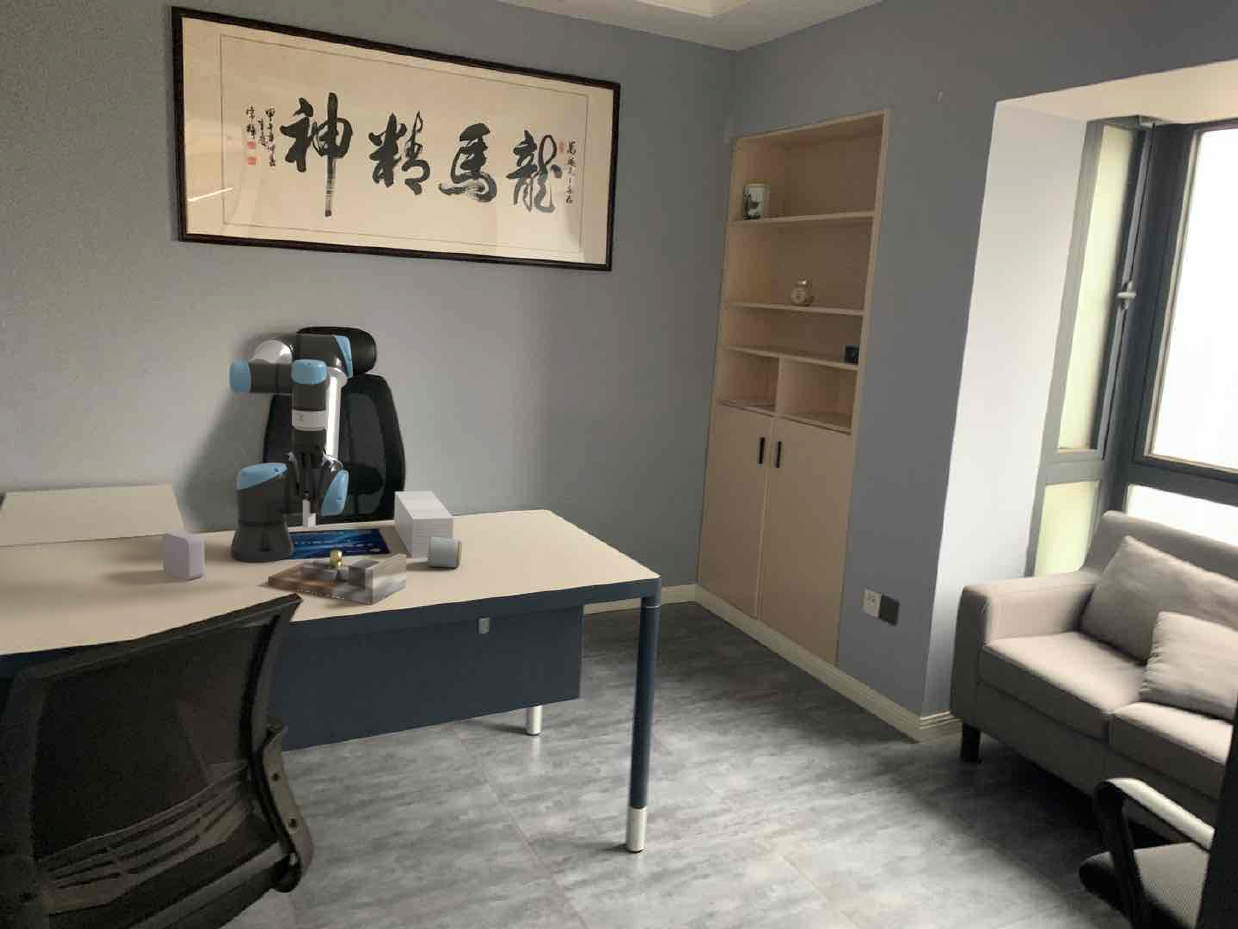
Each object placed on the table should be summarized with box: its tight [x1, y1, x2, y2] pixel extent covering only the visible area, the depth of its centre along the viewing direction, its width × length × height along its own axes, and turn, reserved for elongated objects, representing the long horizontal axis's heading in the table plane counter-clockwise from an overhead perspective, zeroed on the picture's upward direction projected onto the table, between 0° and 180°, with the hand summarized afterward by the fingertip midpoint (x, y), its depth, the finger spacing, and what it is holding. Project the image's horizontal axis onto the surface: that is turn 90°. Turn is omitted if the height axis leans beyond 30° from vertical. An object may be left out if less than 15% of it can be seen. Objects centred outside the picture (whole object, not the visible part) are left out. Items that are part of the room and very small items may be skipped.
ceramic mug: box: [427, 537, 463, 569], centre depth 236 cm, size 11×8×8 cm
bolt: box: [328, 549, 349, 580], centre depth 213 cm, size 12×3×6 cm, turn 72°
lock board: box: [267, 553, 407, 605], centre depth 214 cm, size 28×14×8 cm, turn 72°
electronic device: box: [161, 529, 206, 581], centre depth 215 cm, size 10×5×10 cm, turn 59°
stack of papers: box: [393, 490, 454, 559], centre depth 256 cm, size 32×11×11 cm, turn 22°
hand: (309, 525), depth 215 cm, fingers closed
